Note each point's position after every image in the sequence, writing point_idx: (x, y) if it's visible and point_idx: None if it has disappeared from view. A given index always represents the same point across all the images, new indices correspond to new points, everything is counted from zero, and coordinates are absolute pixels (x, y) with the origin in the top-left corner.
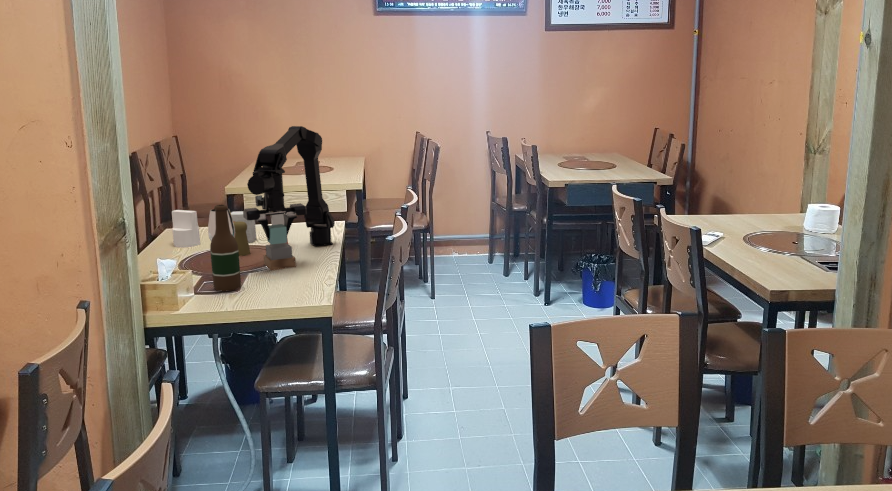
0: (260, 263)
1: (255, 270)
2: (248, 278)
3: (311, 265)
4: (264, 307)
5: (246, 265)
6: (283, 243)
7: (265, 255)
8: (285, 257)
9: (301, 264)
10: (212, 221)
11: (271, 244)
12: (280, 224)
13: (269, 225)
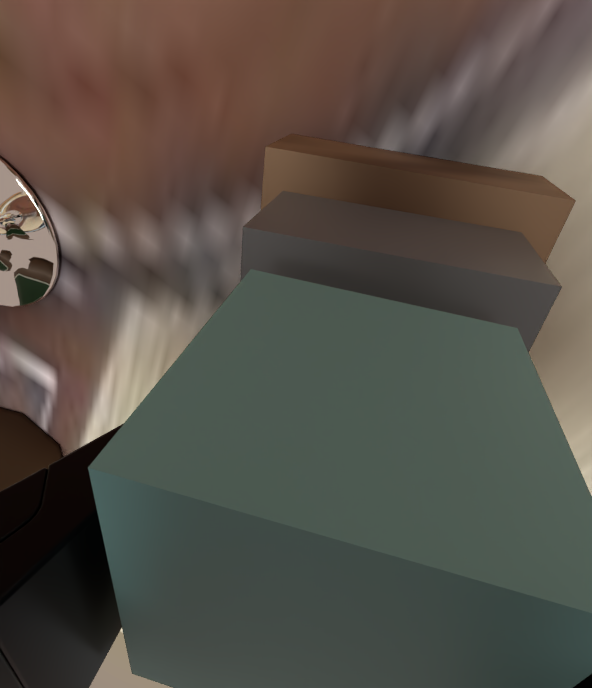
0: (278, 52)
1: (178, 266)
2: (112, 391)
3: (572, 416)
4: (122, 630)
5: (141, 41)
6: (492, 316)
7: (280, 170)
8: None
9: (541, 346)
10: None
11: (324, 253)
12: (546, 630)
13: (183, 502)
